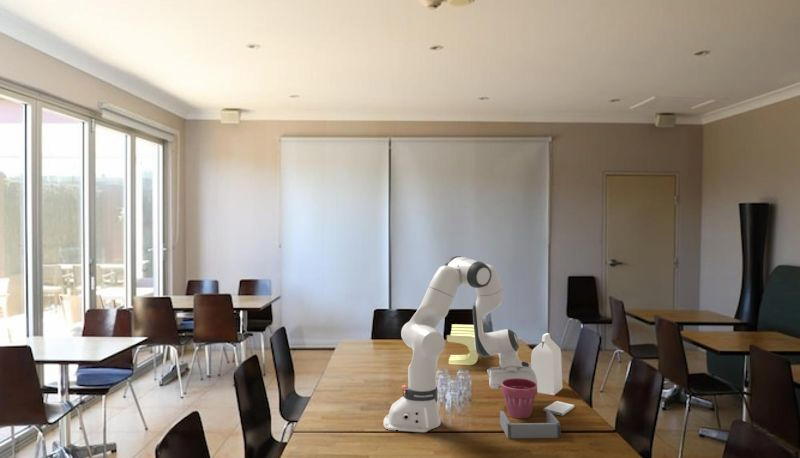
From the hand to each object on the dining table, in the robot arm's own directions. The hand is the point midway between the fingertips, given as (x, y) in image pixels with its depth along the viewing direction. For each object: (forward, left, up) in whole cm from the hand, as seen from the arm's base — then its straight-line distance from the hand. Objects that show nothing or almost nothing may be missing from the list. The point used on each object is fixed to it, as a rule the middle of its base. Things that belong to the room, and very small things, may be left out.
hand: (515, 396), depth 220 cm
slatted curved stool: (-12, +75, -5) cm, 76 cm away
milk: (+20, +25, -5) cm, 33 cm away
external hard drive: (+18, 0, -6) cm, 19 cm away
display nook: (0, -22, -5) cm, 22 cm away
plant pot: (0, -6, -5) cm, 8 cm away
